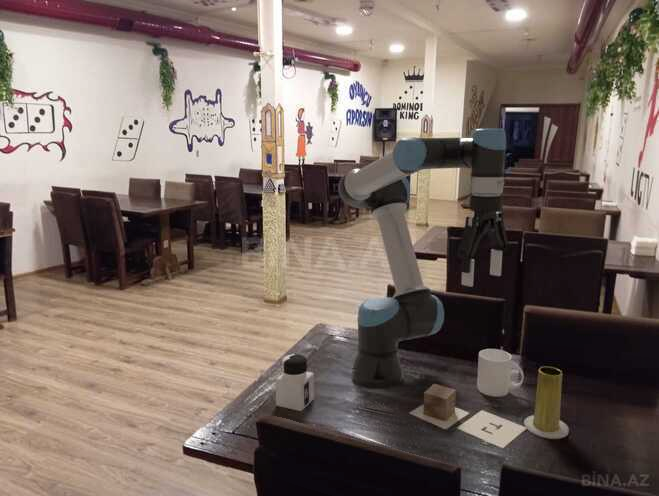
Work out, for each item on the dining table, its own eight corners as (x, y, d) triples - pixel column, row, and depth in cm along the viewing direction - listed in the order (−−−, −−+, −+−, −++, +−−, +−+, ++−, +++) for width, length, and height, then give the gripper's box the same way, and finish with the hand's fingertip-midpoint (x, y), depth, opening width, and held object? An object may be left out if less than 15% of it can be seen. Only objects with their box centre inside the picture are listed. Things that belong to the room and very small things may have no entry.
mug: (521, 402, 137) (523, 365, 135) (475, 394, 142) (476, 358, 140) (523, 389, 145) (525, 353, 143) (479, 381, 150) (481, 346, 148)
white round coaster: (516, 427, 125) (517, 425, 125) (535, 412, 132) (535, 410, 132) (558, 444, 118) (558, 442, 118) (575, 427, 125) (575, 425, 125)
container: (314, 398, 140) (314, 354, 138) (301, 412, 133) (300, 365, 131) (289, 393, 144) (288, 349, 141) (275, 406, 137) (274, 360, 134)
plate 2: (456, 429, 125) (456, 427, 125) (481, 411, 133) (481, 409, 133) (502, 449, 117) (502, 448, 116) (526, 428, 125) (526, 427, 125)
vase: (532, 429, 124) (536, 374, 121) (532, 417, 129) (536, 363, 126) (559, 434, 121) (564, 378, 118) (559, 421, 127) (564, 367, 124)
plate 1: (408, 414, 132) (408, 412, 132) (433, 399, 140) (433, 398, 139) (445, 430, 124) (445, 429, 124) (469, 413, 132) (469, 412, 132)
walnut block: (423, 414, 131) (424, 392, 130) (433, 404, 136) (434, 383, 135) (445, 421, 128) (446, 399, 127) (454, 411, 133) (455, 389, 131)
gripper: (473, 199, 112) (468, 293, 116) (525, 191, 129) (519, 273, 133) (443, 197, 117) (440, 287, 122) (497, 190, 135) (492, 268, 139)
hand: (481, 280), depth 128 cm, fingers open, 13 cm apart
